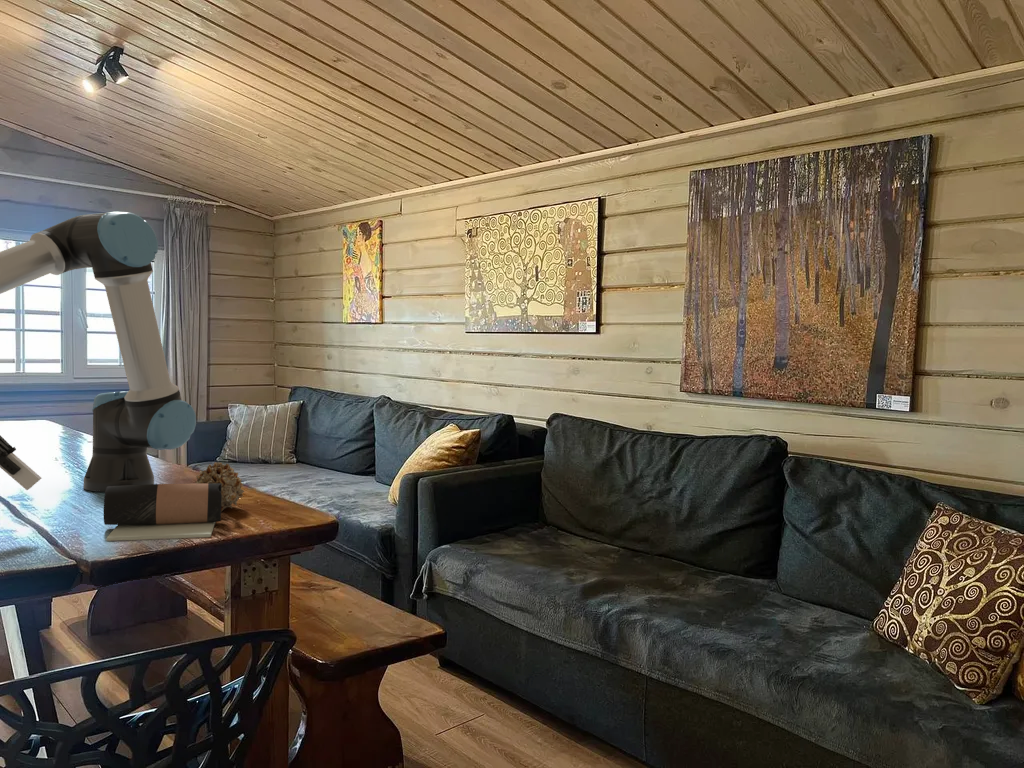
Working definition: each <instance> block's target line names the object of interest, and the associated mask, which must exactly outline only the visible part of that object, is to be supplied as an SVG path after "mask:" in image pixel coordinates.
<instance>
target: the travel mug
mask: <svg viewBox="0 0 1024 768" xmlns="http://www.w3.org/2000/svg"><path fill="white" fill-rule="evenodd" d="M221 488H222V484H221V483H209V484H196V483H158V484H157V483H154V484H147V485H125V486H108V487H107V488H106V491H105V492H104V498H103V499H104V500H103V523H104V525H105V526H107V525H108V526H109V525H110V526H117V525H151V524H177V523H199V522H215V523H216V522H221V521H222V512H221V502H222V494H221Z"/></svg>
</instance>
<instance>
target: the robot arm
mask: <svg viewBox="0 0 1024 768" xmlns="http://www.w3.org/2000/svg"><path fill="white" fill-rule="evenodd" d="M158 251H159V242H158V237H157V234H156V231H155V230H154V228H153V227H152V226H151V224H150V223H149V222H148V221H147V220H145V219H144V218H143V217H141V216H140V215H138V214H136V213H133V212H128V211H110V212H102V213H91V214H87V213H86V214H81V215H78V216H74V217H71V218H68V219H66V220H63V221H61V222H60V223H59V222H58V223H57V224H55V225H52V226H50V227H48V228H45V229H43V230H40V231H37V232H36V233H33V234H32V235H31V236H30V239H29V241H26V242H23V243H21V244H18V245H14V246H12V247H10V248H7V249H4V250H2V251H0V295H1V294H4V293H5V292H8V291H11V290H14V289H15V288H18V287H20V286H23V285H25V284H27V283H30V282H33V281H35V280H36V279H40V278H42V277H44V276H47V275H49V274H51V275H55V276H60V275H62V274H65V273H66V272H69V271H74V270H81V269H87V268H91V269H92V272H93V277H94V279H95V280H96V281H98V282H99V283H101V284H102V285H104V289H105V292H106V297H107V301H108V305H109V309H110V313H111V317H112V322H113V324H114V325H113V326H114V329H115V333H116V338H117V343H118V345H119V347H118V348H119V350H120V354H121V358H122V363H123V368H124V370H125V375H126V379H127V383H128V388H129V390H127V391H114V392H103V393H98V394H97V395H96V396H95V397H94V399H93V405H92V409H91V411H92V455H91V456H92V457H91V459H90V461H89V464H88V467H87V469H86V471H85V472H86V473H85V475H84V477H83V489H84V490H86V491H92V492H102V493H103V492H104V493H105V491H106V488H107V487H108V486H125V485H147V484H155V476H154V472H153V469H152V466H151V463H150V460H149V457H148V454H147V453H148V449H154V450H157V451H164V450H166V451H167V450H168V451H169V450H175V449H178V448H180V447H182V446H184V445H185V444H186V443H187V442H189V440H190V438H191V436H192V434H193V433H194V432H195V429H196V425H197V415H196V414H197V413H196V411H195V409H194V407H193V406H192V405H191V404H189V403H188V402H187V401H186V400H182V396H181V391H180V388H179V386H178V385H176V384H175V383H173V382H171V379H170V375H169V370H168V365H167V362H166V356H165V351H164V349H163V344H162V339H161V335H160V330H159V325H158V321H157V318H156V312H155V308H154V303H153V299H152V296H151V291H150V286H149V281H148V280H149V277H150V276H151V275H152V274H153V272H154V270H153V266H152V262H153V261H154V260H155V258H156V255H157V254H158ZM15 451H17V448H16V446H14V447H13V446H12V445H11V444H10V443H8V441H7V440H6V439H4V437H3V436H2V435H0V469H1V470H3V471H4V472H5V473H6V474H7V475H8V476H10V477H11V478H12V479H13V480H14V481H15V482H16V483H17V484H19V485H20V486H21V487H23V488H24V490H26V491H28V490H30V489H31V488H32V487H34V486H35V485H36V484H37V483H38V482H39V481H40V480H41V479H42V477H41V476H40V475H39V474H38V473H37V472H35V471H34V470H33V469H32V468H31V467H30V466H28V464H27V463H26V462H24V461H23V460H22V459H20V458H19V457H18V456H17V455H16V454H15V453H14V452H15Z"/></svg>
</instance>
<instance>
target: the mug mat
mask: <svg viewBox="0 0 1024 768" xmlns="http://www.w3.org/2000/svg"><path fill="white" fill-rule="evenodd" d="M215 525H216V522H199V523H177V524H151V525H115V527H114V528H113V530H112V531H111V532H110V533H109V534H108V536H106V542H110V541H111V542H112V541H113V542H114V541H139V540H140V541H141V540H163V539H165V540H168V539H169V540H170V539H193V538H211V537H212V533H213V530H214V527H215Z"/></svg>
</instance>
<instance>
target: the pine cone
mask: <svg viewBox="0 0 1024 768" xmlns="http://www.w3.org/2000/svg"><path fill="white" fill-rule="evenodd" d="M238 476H239V472H236V471H235V469H234V468H233V467H231V466H230V463H224V464H223V463H222V461H221V462H219V461H218V462H216V461H215V462H214V463H213V464H212V465H211V464H210V463H209V464H208V466H206V469H205V470H201V469H199V474H197V475H195V478H196V481H194V484H209V483H221V484H222V488H221V494H222V502H221V513H222V512H223V511H224V510H225V509H228V508H230V509H231V510H233V505H234V506H238V505H237V503H238V500H239V499H240V498H243V497H244V495H243V494H244V492H245V490H244V489H242V487H243V486H244V483H242V480H243V479H242V478H241V477H238Z"/></svg>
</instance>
